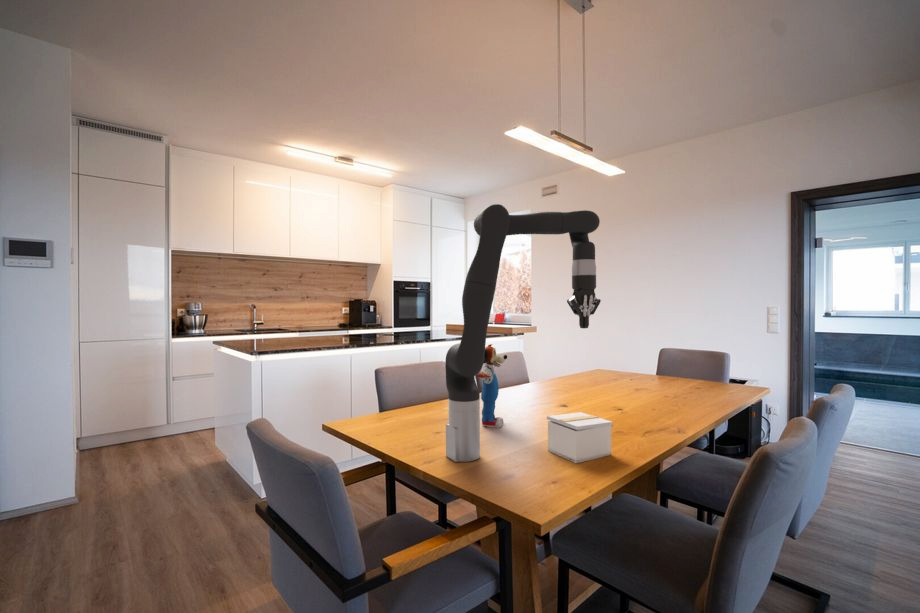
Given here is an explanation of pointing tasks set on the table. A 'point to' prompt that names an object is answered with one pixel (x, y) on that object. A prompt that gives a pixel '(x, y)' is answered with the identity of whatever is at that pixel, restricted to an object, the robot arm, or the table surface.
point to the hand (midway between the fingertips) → (584, 328)
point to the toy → (490, 387)
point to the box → (579, 442)
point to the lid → (579, 420)
